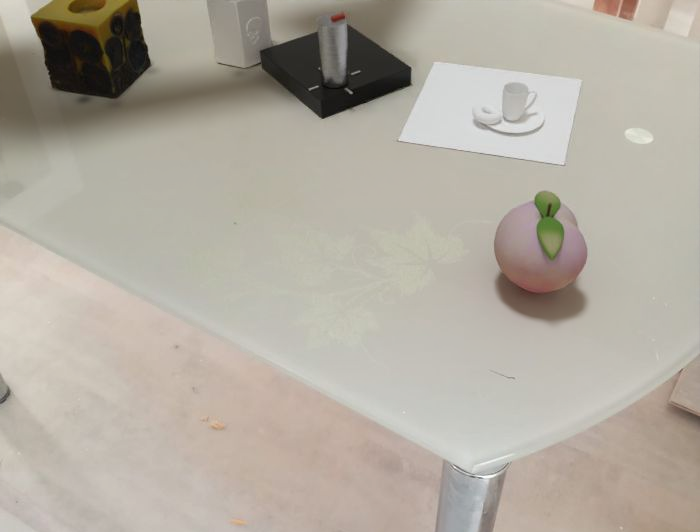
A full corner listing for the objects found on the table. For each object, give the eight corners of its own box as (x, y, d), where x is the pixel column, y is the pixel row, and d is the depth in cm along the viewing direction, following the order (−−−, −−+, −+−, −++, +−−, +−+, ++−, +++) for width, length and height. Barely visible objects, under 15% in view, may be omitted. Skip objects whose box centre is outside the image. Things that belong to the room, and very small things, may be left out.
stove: (261, 67, 107) (259, 49, 105) (346, 38, 112) (345, 20, 110) (325, 121, 98) (324, 102, 96) (415, 87, 102) (415, 69, 100)
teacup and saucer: (467, 130, 95) (470, 100, 92) (479, 97, 100) (483, 67, 97) (539, 140, 93) (544, 110, 90) (548, 106, 98) (553, 76, 95)
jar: (232, 75, 106) (218, -14, 97) (203, 52, 111) (187, -35, 102) (286, 54, 110) (278, -33, 101) (256, 33, 114) (246, -53, 105)
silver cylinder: (330, 91, 98) (327, 27, 92) (315, 79, 100) (311, 15, 94) (354, 82, 99) (352, 18, 93) (339, 70, 101) (336, 7, 95)
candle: (51, 89, 105) (26, 17, 98) (90, 54, 111) (69, -17, 104) (116, 100, 103) (96, 27, 95) (153, 63, 109) (136, -8, 101)
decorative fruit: (481, 256, 80) (491, 176, 72) (559, 250, 80) (577, 170, 73) (499, 321, 74) (512, 241, 66) (584, 315, 74) (607, 234, 66)
